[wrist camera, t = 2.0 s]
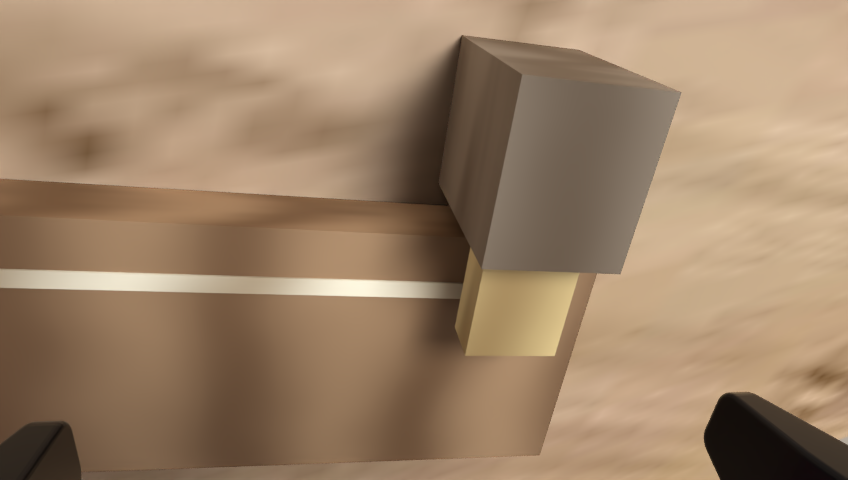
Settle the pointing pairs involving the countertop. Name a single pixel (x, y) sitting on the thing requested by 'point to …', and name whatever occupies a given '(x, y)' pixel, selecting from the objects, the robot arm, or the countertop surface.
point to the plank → (253, 331)
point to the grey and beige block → (543, 182)
